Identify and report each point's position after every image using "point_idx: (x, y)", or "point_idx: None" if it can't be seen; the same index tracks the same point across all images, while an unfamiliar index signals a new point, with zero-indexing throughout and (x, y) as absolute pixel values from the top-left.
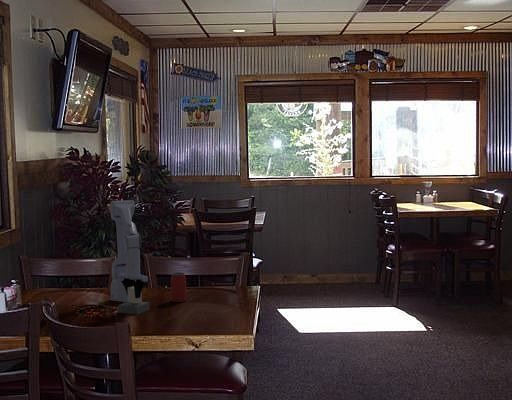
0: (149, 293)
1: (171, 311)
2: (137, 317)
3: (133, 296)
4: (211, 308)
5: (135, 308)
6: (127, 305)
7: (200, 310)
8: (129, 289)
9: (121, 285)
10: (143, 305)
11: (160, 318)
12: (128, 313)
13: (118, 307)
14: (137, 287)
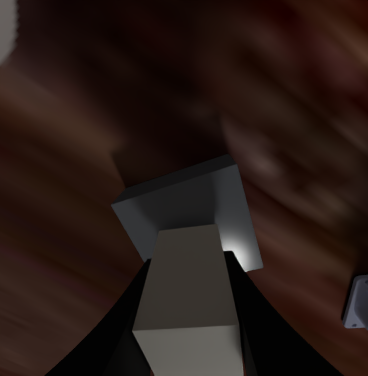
0: (358, 373)
1: (88, 286)
2: (73, 157)
3: (163, 260)
4: (54, 351)
5: (122, 198)
6: (186, 196)
7: (48, 329)
8: (209, 307)
9: None
10: (140, 250)
11: (3, 209)
12: (169, 173)
13: (233, 160)
14: (78, 352)
